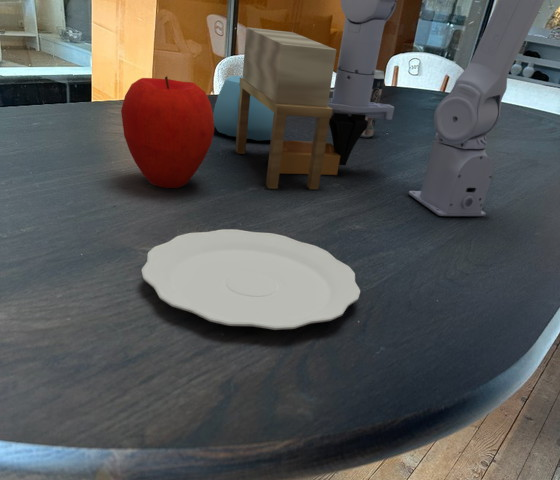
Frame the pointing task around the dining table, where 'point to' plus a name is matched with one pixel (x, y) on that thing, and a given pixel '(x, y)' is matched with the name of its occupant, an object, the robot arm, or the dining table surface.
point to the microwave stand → (286, 91)
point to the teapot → (228, 113)
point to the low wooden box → (306, 158)
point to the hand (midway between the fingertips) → (339, 163)
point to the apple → (167, 129)
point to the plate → (250, 279)
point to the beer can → (374, 101)
